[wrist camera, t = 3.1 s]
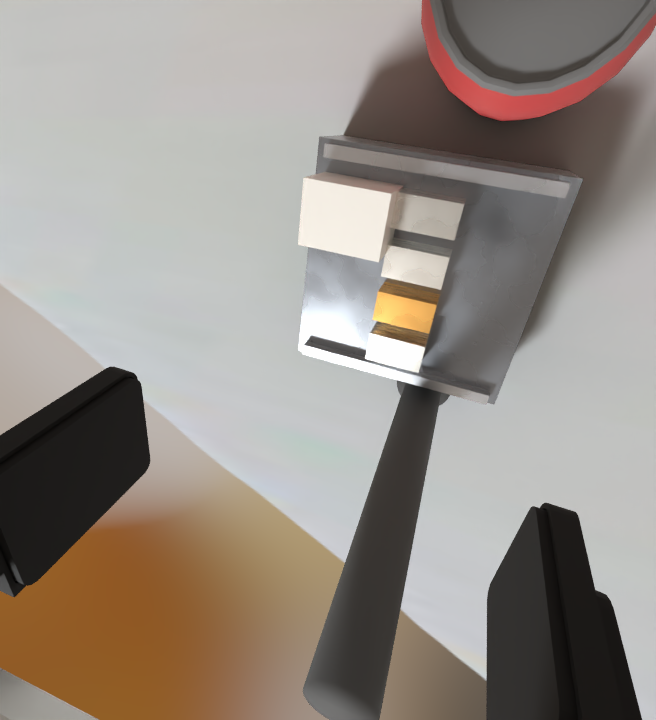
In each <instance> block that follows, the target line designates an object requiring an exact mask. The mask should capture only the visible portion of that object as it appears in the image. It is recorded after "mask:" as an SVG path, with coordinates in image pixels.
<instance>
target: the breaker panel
mask: <svg viewBox="0 0 656 720" xmlns="http://www.w3.org/2000/svg"><path fill="white" fill-rule="evenodd" d="M323 172H330V173H336V174H341V175H347V176H352V177H358V178H364V179H369V180H375V181H381V182H386V183H392V184H397V185H403V188H402V189H401V190H399V191H398V192H397V195H396V200H395V205H394V211H393V216H392V221H391V226H390V228H394V229H395V231H394V236H393V238H392V239H391V241H390V242H389V243H388V244H387V247H386V252H385V255H384V257H383V258H382V259H381V260H380V261H379V262H375V261H370V260H366V259H361V258H357V257H352V256H347V255H343V254H338V253H334V252H329V251H325V250H320V249H316V248H311V247H308V257H307V267H306V278H305V288H304V298H303V308H302V318H301V328H300V338H299V348H298V350H299V351H303V354H305V355H309V356H312V357H316V358H320V359H323V360H327V361H330V362H334V363H338V364H341V365H345V366H348V367H352V368H356V369H359V370H363V371H366V372H370V373H374V374H377V375H381V376H384V377H388V378H392V379H395V380H399V381H402V382H406V383H410V384H413V385H417V386H420V387H424V388H428V389H431V390H435V391H438V392H442V393H446V394H449V395H453V396H456V397H460V398H463V399H467V400H471V401H474V402H478V403H481V404H485V405H486V404H487V403H491V404H495V401H496V398H497V396H498V393H499V391H500V388H501V386H502V383H503V381H504V378H505V376H506V373H507V371H508V368H509V366H510V363H511V361H512V358H513V355H514V353H515V350H516V348H517V345H518V343H519V340H520V338H521V335H522V333H523V330H524V328H525V325H526V323H527V320H528V318H529V315H530V312H531V310H532V307H533V305H534V302H535V300H536V297H537V295H538V292H539V290H540V287H541V285H542V282H543V280H544V277H545V275H546V272H547V269H548V267H549V264H550V262H551V259H552V257H553V254H554V252H555V249H556V247H557V244H558V242H559V239H560V237H561V234H562V232H563V229H564V226H565V224H566V221H567V219H568V216H569V214H570V211H571V209H572V206H573V204H574V201H575V199H576V196H577V194H578V191H579V188H580V186H581V183H582V181H583V179H582V178H581V177H579V176H577V175H575V174H574V173H572V172H570V171H567V170H561V169H554V168H548V167H541V166H535V165H529V164H522V163H516V162H510V161H503V160H497V159H491V158H484V157H478V156H472V155H465V154H459V153H452V152H446V151H440V150H433V149H427V148H421V147H414V146H408V145H402V144H395V143H389V142H382V141H376V140H370V139H363V138H357V137H351V136H344V135H340V136H324V137H319V146H318V156H317V166H316V174H319V173H323Z"/></svg>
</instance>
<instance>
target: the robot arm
mask: <svg viewBox="0 0 656 720" xmlns="http://www.w3.org/2000/svg"><path fill="white" fill-rule="evenodd" d="M149 464H150V453H149V445H148V437H147V428H146V421H145V412H144V403H143V395H142V387H141V383H140V382H139V381H138V379H137V376H136V375H135V374H134V373H132V372H129V371H126V370H123V369H120V368H116V367H108V368H106V369H105V370H103V371H101V372H100V373H98V374H97V375H95V376H94V377H92V378H90V379H89V380H87V381H86V382H84V383H82V384H81V385H79V386H78V387H76V388H74V389H73V390H71V391H70V392H68V393H67V394H65V395H63V396H62V397H60V398H59V399H57V400H55V401H54V402H52V403H51V404H49V405H48V406H46V407H44V408H43V409H41V410H40V411H38V412H37V413H35V414H33V415H32V416H30V417H29V418H27V419H25V420H24V421H22V422H21V423H19V424H18V425H16V426H14V427H13V428H11V429H10V430H8V431H6V432H5V433H3V434H2V435H0V591H2V592H4V593H6V594H8V595H10V596H12V597H15V596H16V595H17V594H18V593H19V592H20V591H21V590H22V589H23V588H24V587H25V586H26V585H27V586H28V585H32V584H33V583H35V582H36V581H38V579H40V578H41V577H42V576H43V575H44V574H45V573H46V572H47V571H48V570H49V569H50V568H51V567H52V566H53V565H54V564H55V563H56V562H57V561H58V560H59V559H60V558H61V557H62V556H63V555H64V554H65V553H66V552H67V551H68V550H69V548H71V547H72V546H73V545H74V544H75V543H76V542H77V541H78V540H79V539H80V538H81V537H82V536H83V535H84V534H85V532H87V530H89V528H91V527H92V526H93V525H94V524H95V522H97V521H98V519H100V517H102V516H103V515H104V514H105V513H106V512H107V511H108V510H109V509H110V508H111V506H113V505H114V503H116V501H117V500H118V499H119V498H120V497H121V496H122V495H123V494H124V493H125V492H126V491H127V490H128V489H129V488H130V487H131V486H132V485H133V484H134V483H135V482H136V481H137V480H138V479H139V478H140V477H141V476H142V475H143V474H144V473H145V472H146V470H147V469H148V467H149ZM0 720H98V719H96V718H94V717H93V716H91V715H89V714H87V713H85V712H83V711H81V710H79V709H77V708H76V707H74V706H72V705H70V704H68V703H66V702H64V701H62V700H60V699H58V698H57V697H55V696H53V695H51V694H49V693H47V692H45V691H43V690H41V689H39V688H38V687H36V686H33V685H32V684H30V683H28V682H26V681H24V680H22V679H20V678H18V677H16V676H14V675H13V674H11V673H9V672H7V671H5V670H3V669H1V668H0ZM487 720H642V718H641V714H640V710H639V706H638V702H637V698H636V694H635V691H634V687H633V683H632V679H631V675H630V671H629V667H628V663H627V659H626V655H625V651H624V648H623V644H622V640H621V636H620V632H619V628H618V624H617V620H616V616H615V612H614V609H613V606H612V604H611V601H610V599H609V598H608V597H607V595H606V594H603V593H601V592H599V591H596V590H595V587H594V583H593V578H592V574H591V570H590V565H589V561H588V556H587V552H586V548H585V543H584V539H583V534H582V530H581V526H580V521H579V517H578V515H577V513H576V512H574V511H571V510H568V509H564V508H561V507H558V506H555V505H552V504H549V503H544V504H542V506H541V507H540V508H537V507H534V506H533V507H531V508H530V510H529V512H528V514H527V515H526V517H525V519H524V521H523V523H522V525H521V527H520V529H519V531H518V532H517V534H516V536H515V538H514V540H513V542H512V544H511V546H510V548H509V549H508V551H507V553H506V555H505V557H504V559H503V561H502V563H501V565H500V566H499V568H498V570H497V572H496V574H495V576H494V578H493V580H492V582H491V584H490V587H489V591H488V597H487Z"/></svg>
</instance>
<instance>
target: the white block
mask: <svg viewBox="0 0 656 720" xmlns="http://www.w3.org/2000/svg"><path fill="white" fill-rule="evenodd" d="M402 188H403V185H397V184H392V183H386V182H381V181H375V180H369V179H364V178H358V177H352V176H347V175H341V174H336V173H330V172H323V173H319V174H315V175H312V176H308V177H304V180H303V191H302V203H301V215H300V226H299V238H298V245H302V246H306V247H311V248H316V249H320V250H325V251H329V252H334V253H338V254H343V255H347V256H352V257H357V258H361V259H366V260H370V261H375V262H379V261H380V260H381V259H382V258H383V257H384V255H385V252H386V247H387V244H388V243H389V242H390V241H391V239H392V238H393V236H394V231H395V229H394V228H390V226H391V221H392V216H393V211H394V205H395V200H396V195H397V192H398V191H399V190H401V189H402Z"/></svg>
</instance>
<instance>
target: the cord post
mask: <svg viewBox="0 0 656 720" xmlns="http://www.w3.org/2000/svg"><path fill="white" fill-rule="evenodd" d="M397 387H398V391H399V393H400V395H401V398H400V401H399V404H398V407H397V410H396V413H395V416H394V419H393V422H392V425H391V428H390V431H389V434H388V437H387V440H386V443H385V446H384V449H383V452H382V455H381V458H380V461H379V464H378V467H377V470H376V472H375V475H374V478H373V481H372V484H371V487H370V490H369V493H368V496H367V499H366V502H365V505H364V508H363V511H362V514H361V517H360V520H359V523H358V526H357V529H356V532H355V535H354V538H353V541H352V544H351V547H350V550H349V553H348V556H347V559H346V562H345V565H344V568H343V571H342V574H341V577H340V580H339V583H338V586H337V589H336V592H335V595H334V598H333V601H332V604H331V607H330V610H329V613H328V616H327V619H326V622H325V625H324V628H323V631H322V634H321V637H320V640H319V643H318V646H317V649H316V652H315V655H314V658H313V661H312V663H311V667H310V670H309V673H308V676H307V678H306V681H305V684H304V687H303V694H304V697H305V698H306V700H307V701H308V703H309V704H310V705H311V706H312V707H313V708H314V709H315V710H316V711H317V712H319V713H320V714H321V715H323V716H324V717H326V718H328V719H329V720H379V718H380V713H381V708H382V703H383V697H384V692H385V686H386V681H387V676H388V671H389V665H390V660H391V655H392V650H393V644H394V639H395V634H396V628H397V623H398V618H399V612H400V607H401V602H402V597H403V592H404V586H405V581H406V576H407V570H408V565H409V560H410V555H411V549H412V544H413V539H414V533H415V528H416V523H417V518H418V512H419V507H420V502H421V496H422V491H423V486H424V481H425V475H426V470H427V465H428V460H429V454H430V449H431V444H432V438H433V433H434V428H435V423H436V417H437V412H438V407H439V405H441V404H443V403H444V402H445V401H446V400H447V399H448V397H449V396H450V395H449V394H446V393H442V392H438V391H435V390H431V389H428V388H424V387H420V386H417V385H413V384H410V383H406V382H402V381H399V380H397Z"/></svg>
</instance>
